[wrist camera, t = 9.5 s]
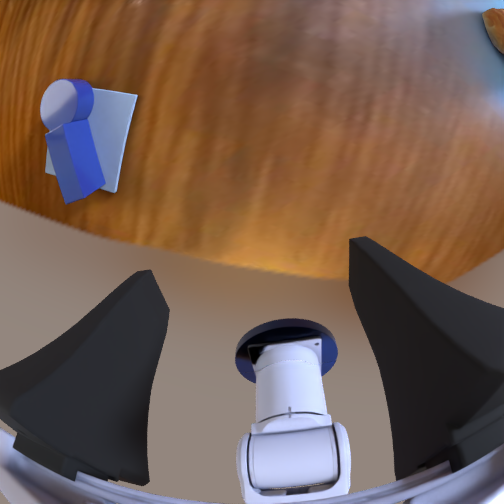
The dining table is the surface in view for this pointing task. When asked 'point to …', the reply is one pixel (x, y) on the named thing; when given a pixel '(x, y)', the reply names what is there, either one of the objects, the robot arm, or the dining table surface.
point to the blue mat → (108, 132)
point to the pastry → (495, 27)
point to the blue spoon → (71, 138)
